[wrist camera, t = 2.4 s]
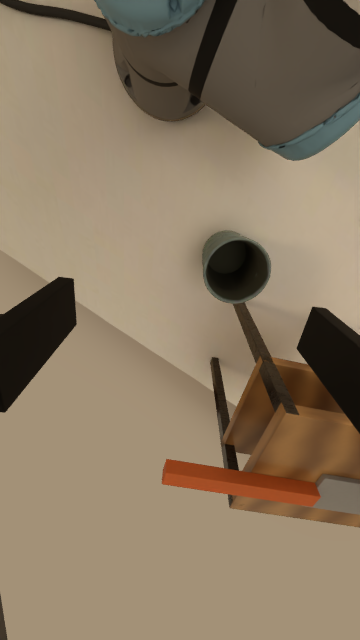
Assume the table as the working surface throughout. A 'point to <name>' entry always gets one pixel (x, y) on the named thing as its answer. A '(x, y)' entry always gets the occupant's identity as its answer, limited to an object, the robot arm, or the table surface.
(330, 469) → the side table
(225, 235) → the green cup
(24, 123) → the table surface
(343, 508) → the spatula
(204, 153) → the table surface
